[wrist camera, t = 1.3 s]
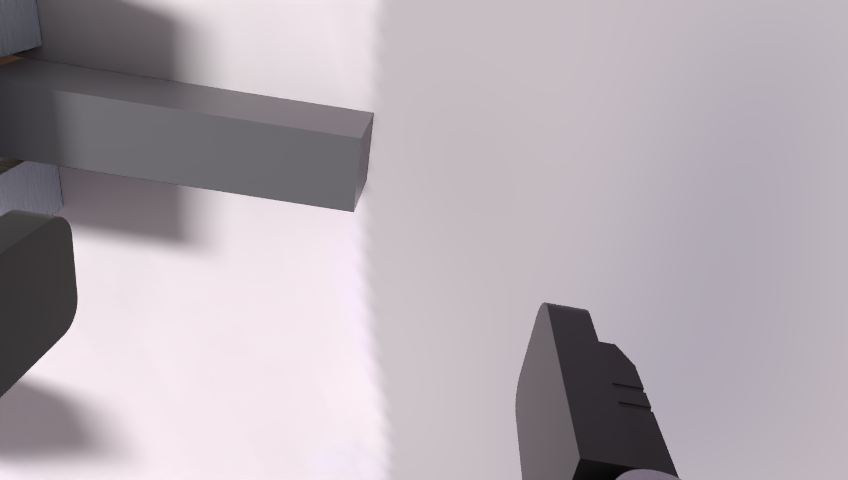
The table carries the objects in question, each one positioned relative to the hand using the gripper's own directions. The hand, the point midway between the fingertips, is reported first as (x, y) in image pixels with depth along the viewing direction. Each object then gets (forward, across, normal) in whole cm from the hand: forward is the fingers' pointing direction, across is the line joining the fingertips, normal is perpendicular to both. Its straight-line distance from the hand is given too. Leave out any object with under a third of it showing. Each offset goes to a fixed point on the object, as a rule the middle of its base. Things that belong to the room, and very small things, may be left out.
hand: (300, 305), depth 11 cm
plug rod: (+21, +11, +4) cm, 24 cm away
